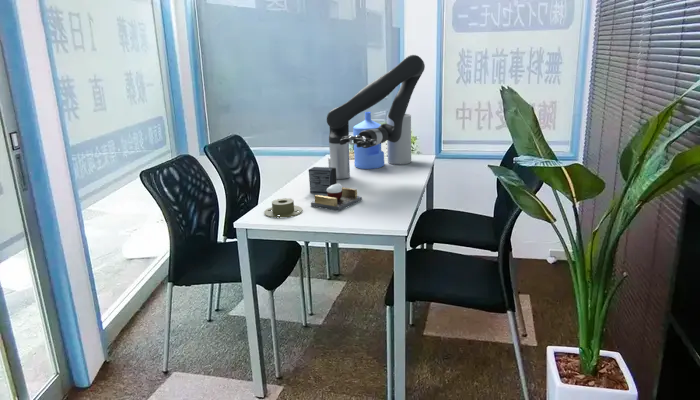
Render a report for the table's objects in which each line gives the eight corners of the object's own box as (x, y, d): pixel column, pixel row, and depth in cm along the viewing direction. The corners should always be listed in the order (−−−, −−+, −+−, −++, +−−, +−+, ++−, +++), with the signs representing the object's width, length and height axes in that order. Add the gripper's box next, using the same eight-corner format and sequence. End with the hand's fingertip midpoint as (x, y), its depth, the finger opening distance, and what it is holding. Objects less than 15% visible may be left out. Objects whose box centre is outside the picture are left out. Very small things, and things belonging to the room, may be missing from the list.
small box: (337, 190, 238) (336, 166, 235) (332, 194, 232) (330, 170, 229) (315, 188, 241) (313, 166, 238) (309, 192, 235) (307, 169, 232)
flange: (307, 196, 214) (271, 195, 217) (294, 207, 200) (257, 206, 203) (307, 207, 215) (272, 206, 219) (295, 219, 201) (258, 218, 205)
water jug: (348, 167, 278) (346, 113, 270) (365, 161, 290) (363, 109, 282) (374, 170, 269) (372, 114, 261) (390, 164, 282) (388, 110, 274)
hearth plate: (310, 206, 216) (310, 195, 214) (334, 196, 228) (333, 185, 227) (339, 210, 208) (338, 199, 207) (361, 200, 220) (361, 189, 219)
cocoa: (337, 203, 213) (336, 175, 209) (323, 202, 215) (322, 173, 211) (346, 196, 221) (346, 168, 217) (332, 194, 224) (331, 167, 220)
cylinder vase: (384, 164, 282) (383, 116, 275) (391, 159, 293) (390, 113, 286) (407, 165, 277) (407, 117, 270) (414, 160, 288) (413, 113, 281)
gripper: (356, 127, 236) (335, 132, 223) (384, 131, 228) (363, 136, 215) (356, 144, 238) (334, 150, 225) (384, 148, 230) (363, 154, 218)
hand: (348, 143), depth 220 cm, fingers open, 8 cm apart
